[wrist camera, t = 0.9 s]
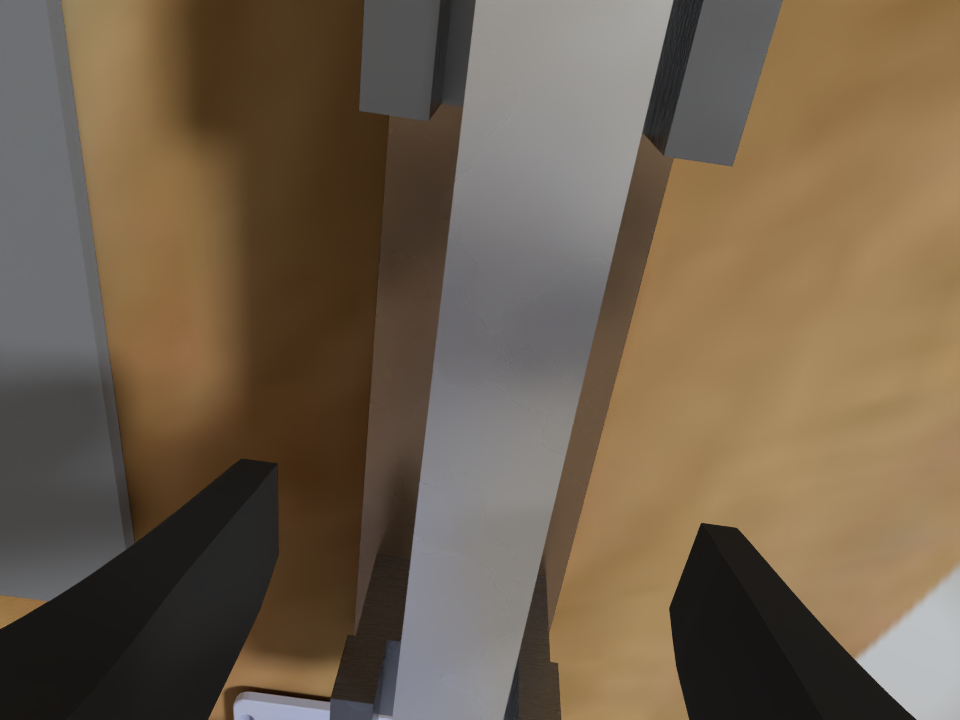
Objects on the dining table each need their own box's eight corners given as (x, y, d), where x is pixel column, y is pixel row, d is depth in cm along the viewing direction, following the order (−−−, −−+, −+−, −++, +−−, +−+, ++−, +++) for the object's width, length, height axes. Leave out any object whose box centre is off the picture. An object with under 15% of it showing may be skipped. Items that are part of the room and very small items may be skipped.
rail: (481, 739, 19) (476, 832, 17) (395, 728, 19) (380, 819, 17) (669, -124, 10) (710, -157, 8) (502, -150, 10) (497, -190, 8)
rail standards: (538, 654, 23) (543, 826, 18) (357, 629, 22) (313, 797, 18) (735, -112, 13) (863, -176, 8) (413, -163, 13) (351, -256, 8)
